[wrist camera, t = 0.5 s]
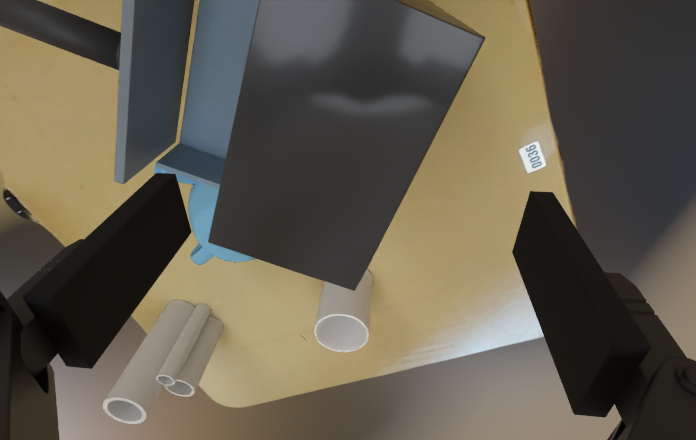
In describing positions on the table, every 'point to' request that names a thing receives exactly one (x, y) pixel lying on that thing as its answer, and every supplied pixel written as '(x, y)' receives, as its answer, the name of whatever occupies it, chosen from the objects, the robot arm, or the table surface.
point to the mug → (344, 316)
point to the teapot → (204, 222)
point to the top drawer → (159, 75)
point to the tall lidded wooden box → (335, 128)
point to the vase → (165, 361)
